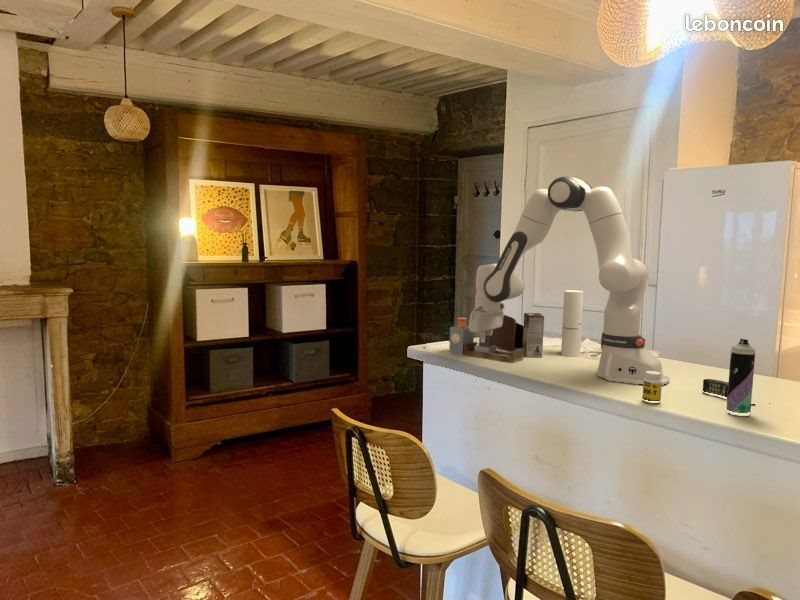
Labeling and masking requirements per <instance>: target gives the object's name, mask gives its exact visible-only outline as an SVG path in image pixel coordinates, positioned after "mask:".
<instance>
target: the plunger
mask: <svg viewBox="0 0 800 600" xmlns="http://www.w3.org/2000/svg"><path fill="white" fill-rule="evenodd" d="M457 320H458V321H457V323H458V324H457V326H458V328H466V326H467V320H468V318H467V317H457Z"/></svg>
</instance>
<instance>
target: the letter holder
mask: <svg viewBox="0 0 800 600" xmlns="http://www.w3.org/2000/svg"><path fill="white" fill-rule="evenodd" d="M523 327H524V324H523V325H522V324H520V323H518V322H517V320H516V319H515V318H514V317H511V316H509V315H507V314H506V315H505V314H504V316H503V325H502V327H500V328H496V329H493V333H492V335H491V336H492V345H495V346H496V348H498V349H502V350H506V351H508V352H512V351H515V350H519V349H523ZM486 334H487V332H485V335H486Z"/></svg>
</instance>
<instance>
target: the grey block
mask: <svg viewBox="0 0 800 600" xmlns="http://www.w3.org/2000/svg"><path fill="white" fill-rule="evenodd" d="M474 335H475V333H473V332H470V331H469V325H466V328H458V325H456V326H451V327H449V352H450V353H449V352H448V353H449V354H454V355H460V356H465V355H464V345H466V344H469V343H473V342H475V340H474Z"/></svg>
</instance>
